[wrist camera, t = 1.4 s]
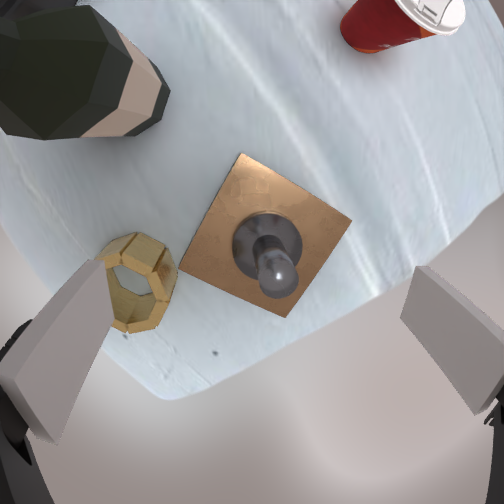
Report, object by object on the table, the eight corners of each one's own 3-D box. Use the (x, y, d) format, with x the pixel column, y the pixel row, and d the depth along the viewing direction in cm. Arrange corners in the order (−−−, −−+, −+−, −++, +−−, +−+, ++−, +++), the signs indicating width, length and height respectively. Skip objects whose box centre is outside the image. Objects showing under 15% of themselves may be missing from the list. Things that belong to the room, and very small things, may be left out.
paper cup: (382, 73, 26) (465, 51, 13) (322, 41, 24) (383, -10, 11) (397, 26, 23) (471, -8, 10) (341, -6, 22) (398, -62, 9)
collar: (97, 282, 32) (77, 308, 27) (118, 221, 30) (97, 239, 24) (159, 314, 35) (149, 344, 29) (187, 256, 32) (180, 281, 26)
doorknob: (179, 264, 32) (164, 311, 24) (241, 152, 28) (246, 158, 20) (283, 313, 36) (299, 365, 27) (348, 218, 32) (389, 248, 23)
